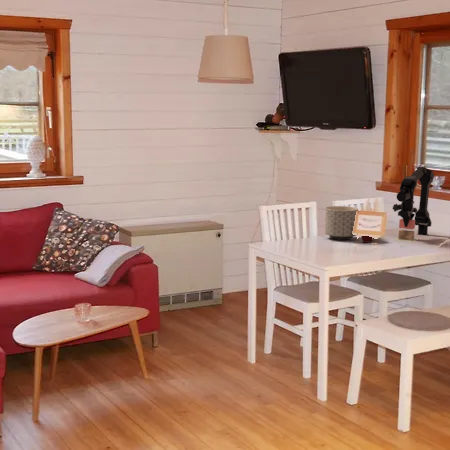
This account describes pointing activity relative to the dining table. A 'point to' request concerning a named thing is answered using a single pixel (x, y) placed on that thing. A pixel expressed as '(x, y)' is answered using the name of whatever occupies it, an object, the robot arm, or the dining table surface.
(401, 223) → the brick red
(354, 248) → the dining table surface
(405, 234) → the brick walnut
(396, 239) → the plate
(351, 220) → the planter
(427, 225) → the robot arm
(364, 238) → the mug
